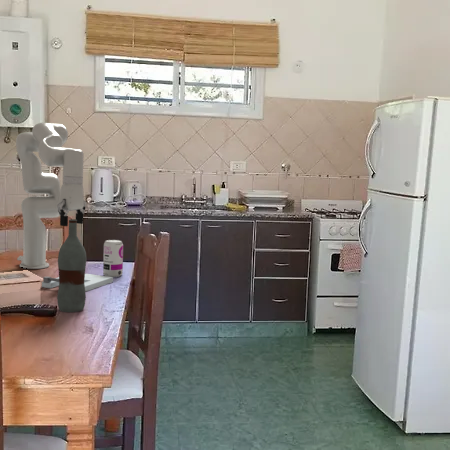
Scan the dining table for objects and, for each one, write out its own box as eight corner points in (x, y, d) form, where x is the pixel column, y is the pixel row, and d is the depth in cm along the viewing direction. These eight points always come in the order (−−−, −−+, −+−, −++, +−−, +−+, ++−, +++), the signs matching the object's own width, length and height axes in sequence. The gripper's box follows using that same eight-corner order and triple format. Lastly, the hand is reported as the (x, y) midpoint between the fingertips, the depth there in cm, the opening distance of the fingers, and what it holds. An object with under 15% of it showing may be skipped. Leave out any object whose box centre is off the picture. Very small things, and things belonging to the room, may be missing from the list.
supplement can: (124, 274, 244) (125, 240, 243) (119, 277, 236) (120, 243, 234) (106, 272, 245) (107, 239, 243) (100, 276, 237) (101, 241, 235)
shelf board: (41, 287, 213) (41, 277, 213) (76, 276, 234) (76, 267, 234) (80, 293, 207) (81, 282, 207) (113, 281, 228) (113, 272, 228)
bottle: (70, 314, 179) (72, 222, 176) (50, 309, 184) (51, 219, 180) (91, 308, 187) (93, 220, 184) (72, 303, 192) (73, 217, 188)
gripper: (78, 179, 225) (77, 221, 227) (50, 180, 209) (49, 226, 211) (94, 181, 222) (92, 223, 225) (66, 182, 206) (65, 228, 209)
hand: (71, 224), depth 218 cm, fingers open, 9 cm apart
